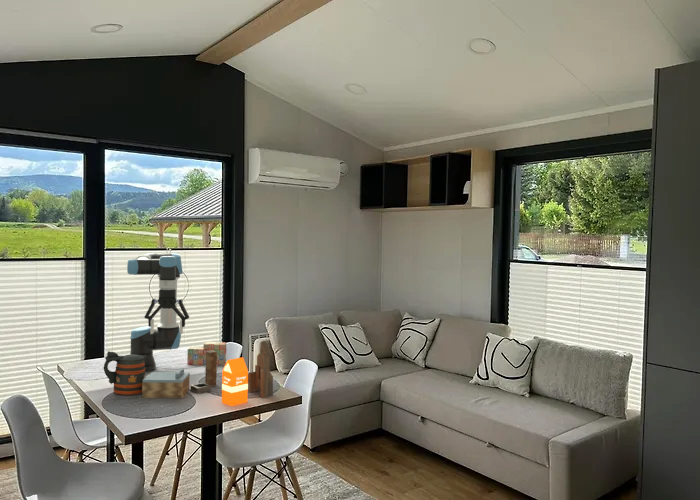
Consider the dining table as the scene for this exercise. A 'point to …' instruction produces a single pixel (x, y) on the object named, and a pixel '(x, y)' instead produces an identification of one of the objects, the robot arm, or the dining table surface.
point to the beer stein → (126, 373)
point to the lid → (167, 377)
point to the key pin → (211, 368)
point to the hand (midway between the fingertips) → (166, 333)
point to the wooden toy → (261, 373)
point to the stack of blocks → (199, 353)
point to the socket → (200, 388)
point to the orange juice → (235, 382)
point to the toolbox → (165, 389)
